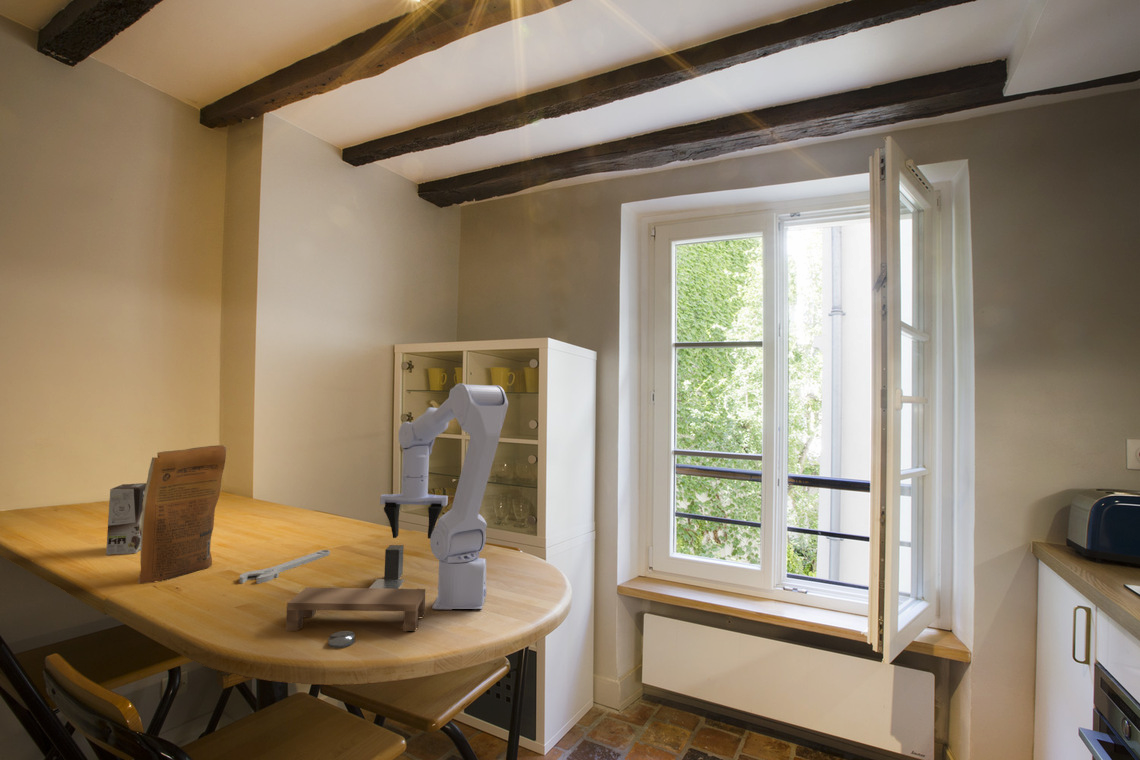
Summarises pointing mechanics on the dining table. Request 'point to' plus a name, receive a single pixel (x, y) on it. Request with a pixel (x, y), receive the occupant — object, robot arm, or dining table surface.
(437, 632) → the dining table surface
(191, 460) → the pancake mix bag
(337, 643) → the steel disc
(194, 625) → the dining table surface
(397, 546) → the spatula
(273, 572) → the adjustable wrench
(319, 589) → the walnut shelf
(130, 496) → the coffee box
